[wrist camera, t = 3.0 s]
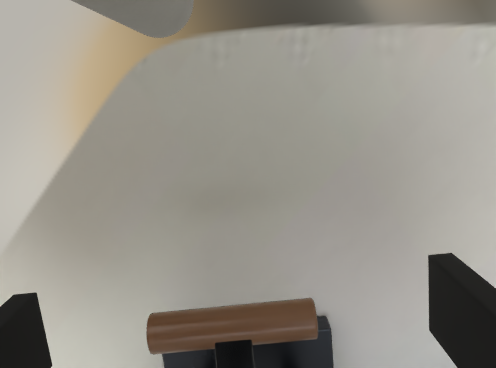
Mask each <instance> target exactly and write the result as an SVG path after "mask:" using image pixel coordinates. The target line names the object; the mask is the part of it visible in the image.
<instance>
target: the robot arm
mask: <svg viewBox="0 0 496 368" xmlns="http://www.w3.org/2000/svg"><path fill="white" fill-rule="evenodd" d="M428 258H429V331H430V332H431V333H432V334H433V336H434V337H435V338H436V340H437V341H438V342H439V344H440V345H441V346H442V348H443V349H444V350H445V352H446V353H447V354H448V356H449V357H450V358H451V360H452V361H453V362H454V363H455V365H456V366H457V367H458V368H496V288H494V287H493V286H492V285H491V284H489V283H488V282H487V281H486V280H485V279H483V278H482V277H481V276H480V275H478V274H477V273H476V272H475V271H473V270H472V269H471V268H470V267H468V266H467V265H466V264H465V263H463V262H462V261H461V260H460V259H458V258H457V257H456V256H455V255H453V254H452V253H447V254H436V255H428ZM51 366H52V362H51V357H50V352H49V348H48V343H47V339H46V334H45V330H44V325H43V320H42V316H41V311H40V307H39V302H38V297H37V293H27V294H16V295H13V296H12V297H11V298H10V299H9V300H7V301H6V302H5V303H4V304H3V305H2V306H1V307H0V368H51Z"/></svg>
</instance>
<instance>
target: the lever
mask: <svg viewBox="0 0 496 368" xmlns="http://www.w3.org/2000/svg"><path fill="white" fill-rule="evenodd" d="M317 338H318V322H317V314H316V309H315V304H314V301H313V299H312V298H305V299H294V300H284V301H273V302H263V303H252V304H242V305H231V306H221V307H210V308H200V309H189V310H179V311H168V312H158V313H152V314H150V315H149V318H148V321H147V344H148V348H149V351H150V353H151V354H153V355H154V354H164V353H175V352H186V351H196V350H207V349H215V355H216V367H217V368H256V367H255V357H254V346H253V345H260V344H271V343H281V342H292V341H302V340H313V339H317Z"/></svg>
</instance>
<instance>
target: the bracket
mask: <svg viewBox="0 0 496 368" xmlns="http://www.w3.org/2000/svg"><path fill="white" fill-rule="evenodd" d="M317 322H318V338H317V339H313V340H302V341H292V342H281V343H271V344H260V345H253V346H254V357H255V367H256V368H333V351H332V335H331V328H330V325H329V322H328V319H327V317H326V316H323V317H317ZM162 355H163V361H164V368H217V367H216V355H215V349H207V350H196V351H186V352H175V353H164V354H162Z"/></svg>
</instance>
